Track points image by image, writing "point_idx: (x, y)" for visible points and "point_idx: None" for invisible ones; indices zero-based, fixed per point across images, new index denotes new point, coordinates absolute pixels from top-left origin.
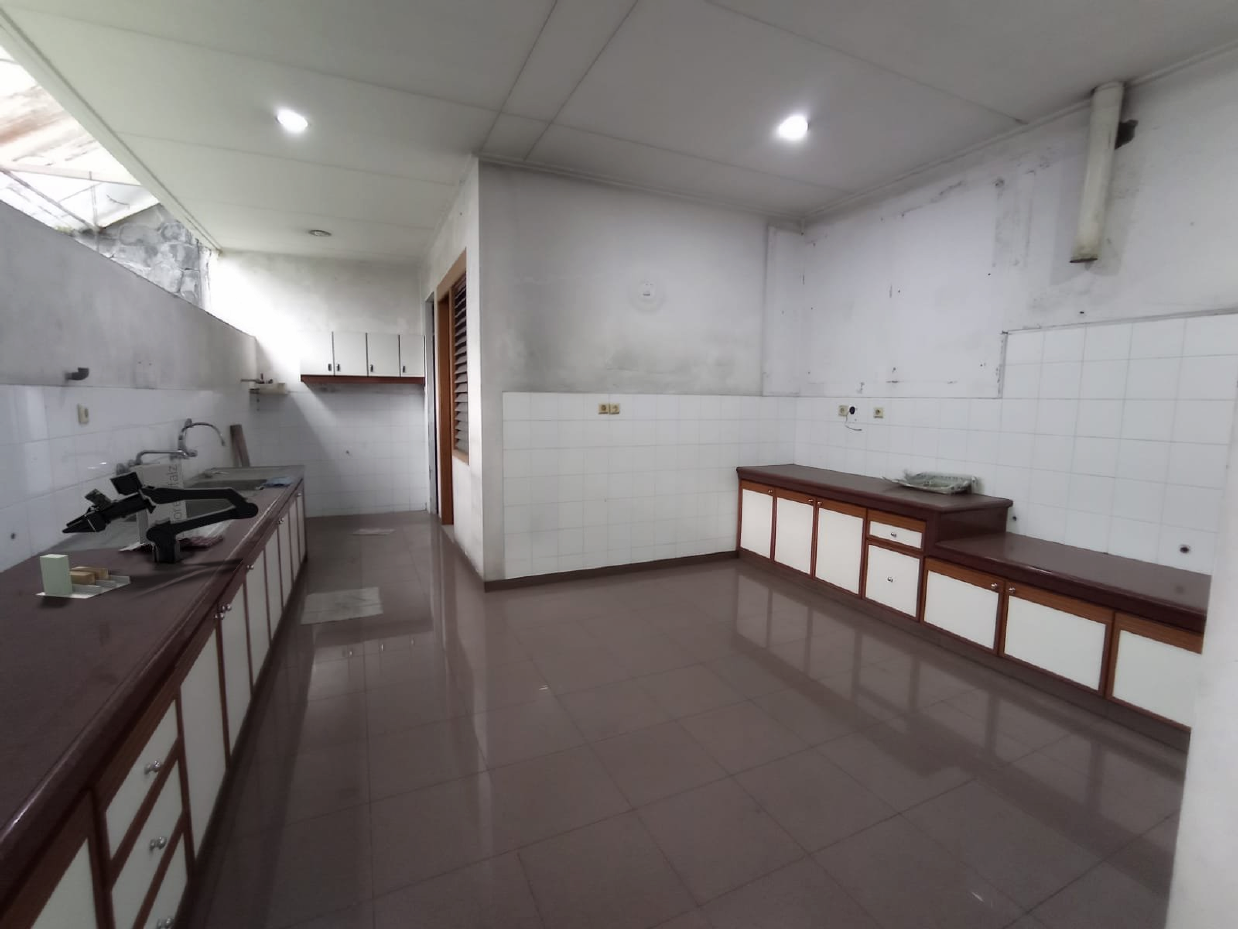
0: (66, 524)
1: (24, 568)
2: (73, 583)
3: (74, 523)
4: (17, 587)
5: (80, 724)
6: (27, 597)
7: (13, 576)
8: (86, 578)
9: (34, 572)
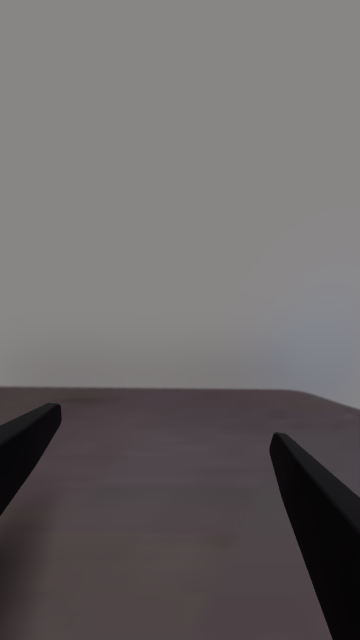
0: (276, 435)
1: (302, 408)
2: None
3: (299, 496)
4: (140, 396)
5: None
6: (27, 410)
7: (240, 392)
8: None
9: (257, 424)
